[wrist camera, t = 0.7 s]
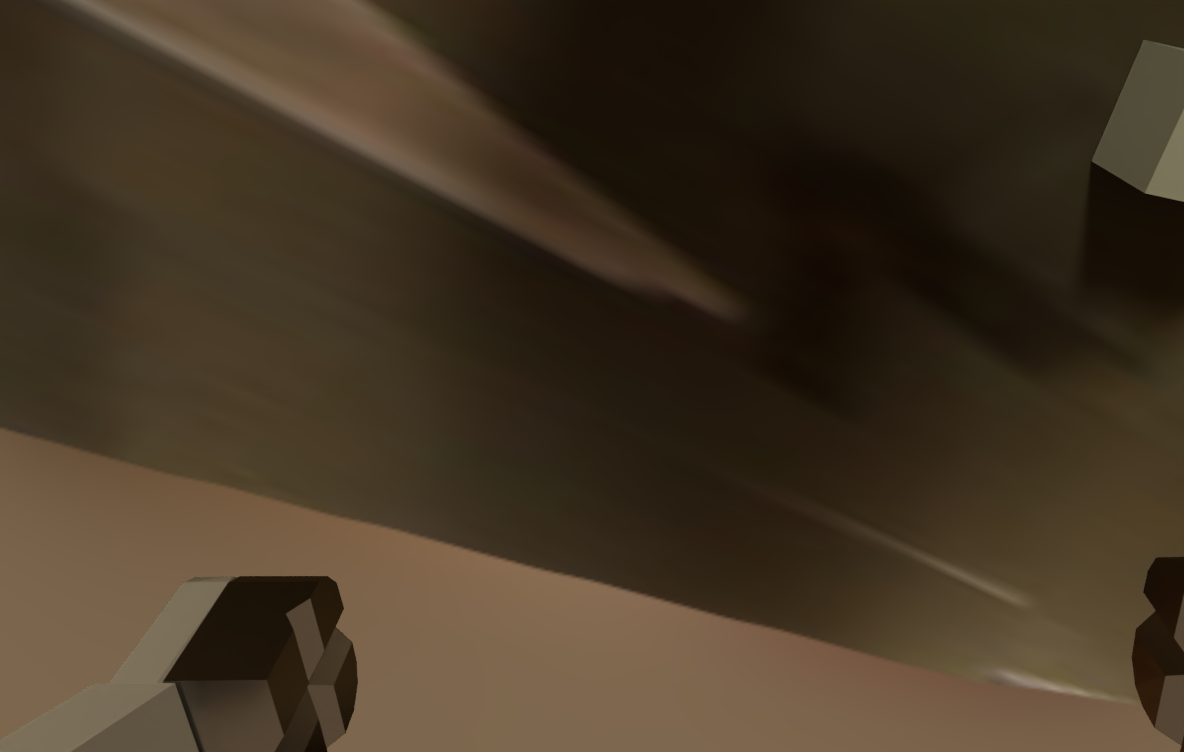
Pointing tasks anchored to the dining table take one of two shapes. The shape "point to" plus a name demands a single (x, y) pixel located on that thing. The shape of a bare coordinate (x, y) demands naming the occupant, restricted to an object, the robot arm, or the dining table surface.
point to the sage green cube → (1149, 124)
